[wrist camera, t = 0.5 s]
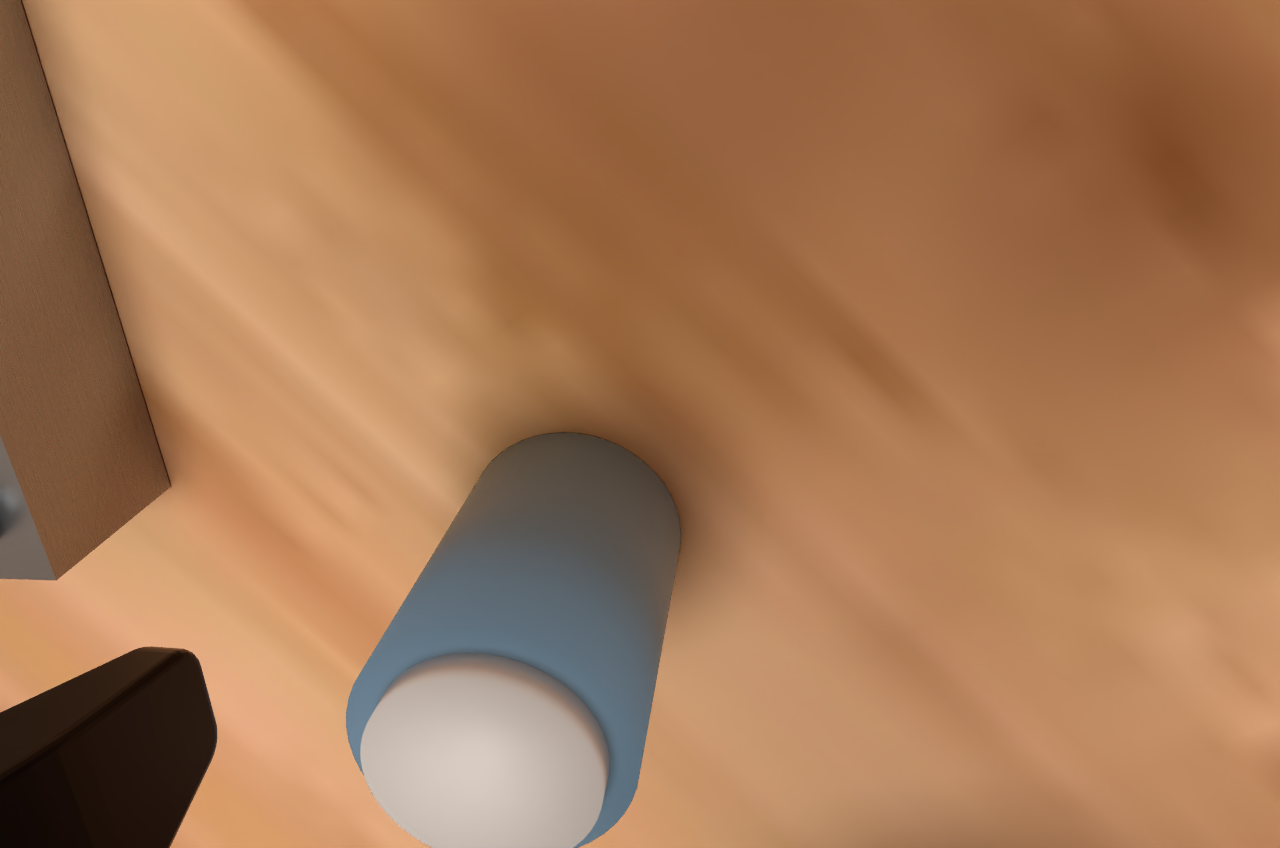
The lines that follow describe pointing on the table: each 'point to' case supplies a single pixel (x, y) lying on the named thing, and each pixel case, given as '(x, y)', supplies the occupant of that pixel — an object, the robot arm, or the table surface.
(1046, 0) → the table surface
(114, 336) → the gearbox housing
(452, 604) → the blue cylinder
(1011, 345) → the table surface
